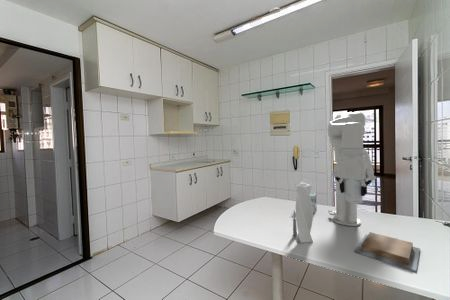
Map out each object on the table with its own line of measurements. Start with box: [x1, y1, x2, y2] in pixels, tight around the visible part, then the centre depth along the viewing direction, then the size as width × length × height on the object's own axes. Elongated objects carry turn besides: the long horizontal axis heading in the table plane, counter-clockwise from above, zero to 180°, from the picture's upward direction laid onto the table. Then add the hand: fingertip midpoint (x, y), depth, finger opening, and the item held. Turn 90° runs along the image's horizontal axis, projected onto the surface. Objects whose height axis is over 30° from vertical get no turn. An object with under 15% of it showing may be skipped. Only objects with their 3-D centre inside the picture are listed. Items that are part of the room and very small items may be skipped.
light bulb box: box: [310, 192, 318, 214], centre depth 127 cm, size 11×7×11 cm, turn 58°
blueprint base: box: [353, 231, 421, 273], centre depth 80 cm, size 18×18×3 cm
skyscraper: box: [292, 178, 314, 244], centre depth 92 cm, size 8×8×28 cm
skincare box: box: [344, 174, 363, 204], centre depth 86 cm, size 6×4×12 cm
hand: (352, 193), depth 86 cm, fingers closed on skincare box, 7 cm apart
